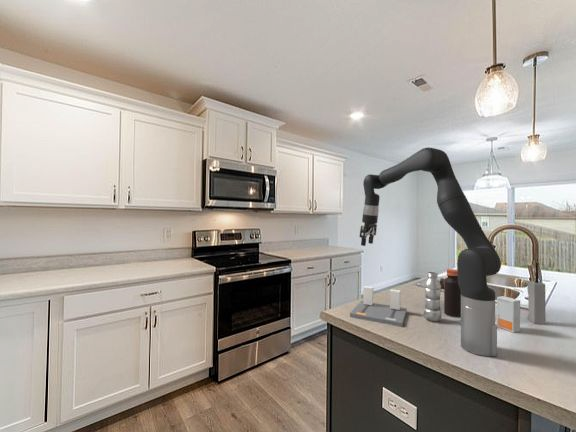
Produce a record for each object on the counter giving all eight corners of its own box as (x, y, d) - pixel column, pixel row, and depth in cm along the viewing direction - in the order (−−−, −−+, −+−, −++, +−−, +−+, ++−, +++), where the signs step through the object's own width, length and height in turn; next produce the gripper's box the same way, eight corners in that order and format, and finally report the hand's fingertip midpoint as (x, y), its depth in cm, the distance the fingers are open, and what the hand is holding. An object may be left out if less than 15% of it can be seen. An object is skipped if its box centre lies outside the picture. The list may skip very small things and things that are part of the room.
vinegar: (458, 318, 113) (459, 272, 113) (441, 314, 118) (441, 269, 118) (464, 315, 117) (464, 270, 117) (447, 311, 122) (447, 268, 122)
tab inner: (400, 307, 120) (400, 290, 120) (399, 309, 118) (399, 292, 118) (391, 306, 122) (391, 289, 122) (390, 308, 119) (390, 290, 120)
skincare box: (496, 326, 105) (496, 296, 105) (503, 325, 106) (503, 295, 106) (513, 333, 99) (513, 301, 99) (520, 331, 100) (520, 300, 101)
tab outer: (373, 303, 126) (373, 286, 126) (372, 305, 123) (372, 288, 123) (364, 302, 128) (364, 285, 128) (363, 303, 125) (363, 287, 125)
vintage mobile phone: (537, 320, 112) (537, 261, 112) (545, 325, 107) (545, 263, 107) (526, 319, 113) (527, 261, 113) (534, 323, 108) (534, 263, 108)
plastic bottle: (444, 323, 107) (444, 274, 107) (426, 322, 108) (426, 274, 109) (438, 318, 113) (438, 271, 113) (421, 316, 115) (421, 271, 115)
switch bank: (406, 311, 121) (406, 307, 121) (402, 326, 104) (402, 322, 104) (360, 303, 131) (360, 300, 131) (349, 316, 114) (349, 313, 114)
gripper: (371, 215, 127) (367, 248, 129) (383, 214, 138) (379, 244, 140) (357, 213, 132) (353, 244, 134) (369, 212, 143) (366, 241, 145)
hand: (366, 244), depth 137 cm, fingers open, 8 cm apart
